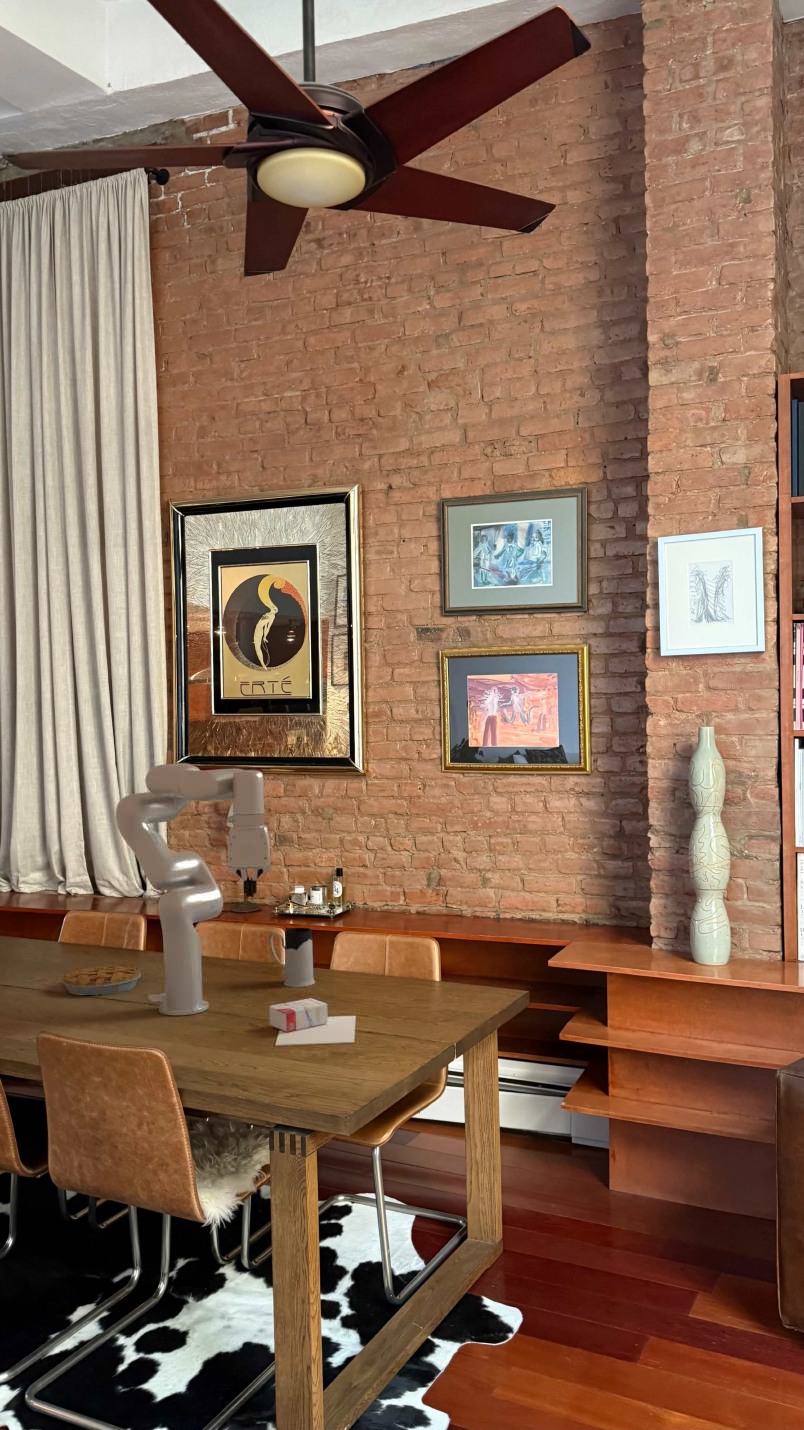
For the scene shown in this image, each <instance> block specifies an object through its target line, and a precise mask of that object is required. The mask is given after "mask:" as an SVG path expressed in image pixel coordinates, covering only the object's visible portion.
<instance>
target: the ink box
mask: <svg viewBox="0 0 804 1430" xmlns="http://www.w3.org/2000/svg"><path fill="white" fill-rule="evenodd" d="M268 1007H269V1011H268V1012H269V1025H270V1026H272V1027H274V1028H275V1029H279V1031H280V1030H282V1031H284V1032H286V1033H287V1032H291V1031H295V1030H299V1029H303V1028H308V1027H312V1026H316V1025H321V1024H325V1023H328V1019H327V1017H328V1004H327V1002H323V1001H320V1000H318V999H315V998H312V997H311V998H310V997H309V998H305V999H299V1000H294V1001H287V1002H285V1003H284V1002H283V1003H279V1004H273V1005H269V1006H268Z"/></svg>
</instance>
